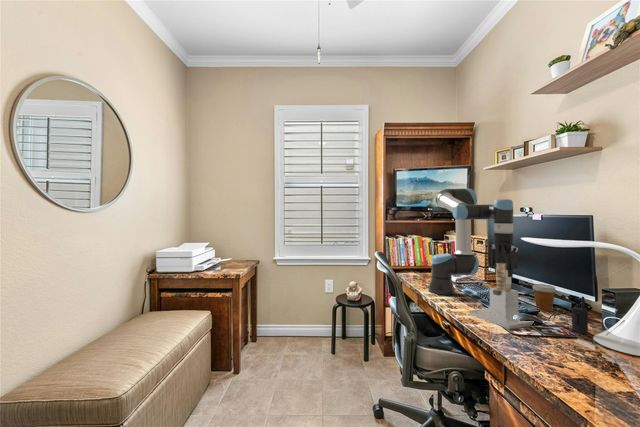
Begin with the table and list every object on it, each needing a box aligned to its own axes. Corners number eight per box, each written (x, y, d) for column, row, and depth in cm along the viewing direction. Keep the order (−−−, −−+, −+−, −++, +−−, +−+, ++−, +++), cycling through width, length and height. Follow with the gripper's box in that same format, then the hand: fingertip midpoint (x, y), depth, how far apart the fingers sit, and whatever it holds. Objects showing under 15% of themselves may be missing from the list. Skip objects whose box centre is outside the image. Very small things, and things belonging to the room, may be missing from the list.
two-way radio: (590, 334, 116) (590, 297, 116) (580, 335, 116) (580, 297, 116) (576, 329, 122) (576, 293, 122) (567, 329, 121) (567, 294, 121)
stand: (469, 314, 141) (469, 286, 141) (499, 309, 147) (499, 282, 147) (508, 329, 122) (508, 297, 122) (541, 323, 129) (540, 292, 129)
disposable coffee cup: (528, 308, 149) (528, 284, 149) (539, 305, 153) (539, 282, 153) (549, 313, 141) (549, 289, 141) (560, 311, 145) (560, 287, 145)
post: (495, 314, 136) (495, 263, 136) (502, 313, 137) (502, 262, 137) (504, 317, 132) (504, 264, 132) (511, 316, 133) (511, 264, 133)
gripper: (481, 231, 141) (481, 279, 141) (515, 233, 125) (515, 287, 125) (492, 231, 144) (492, 278, 144) (527, 233, 128) (527, 286, 128)
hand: (503, 282), depth 135 cm, fingers closed on post, 4 cm apart
